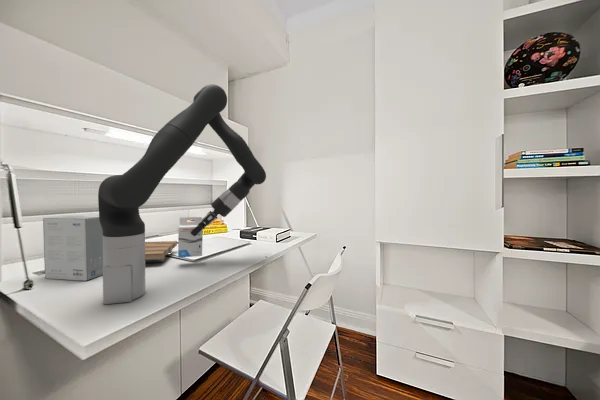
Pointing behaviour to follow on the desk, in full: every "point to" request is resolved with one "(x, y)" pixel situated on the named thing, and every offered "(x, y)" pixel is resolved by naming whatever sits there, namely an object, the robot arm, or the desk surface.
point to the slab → (158, 249)
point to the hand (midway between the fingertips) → (194, 232)
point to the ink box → (189, 238)
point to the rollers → (155, 259)
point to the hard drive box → (73, 247)
